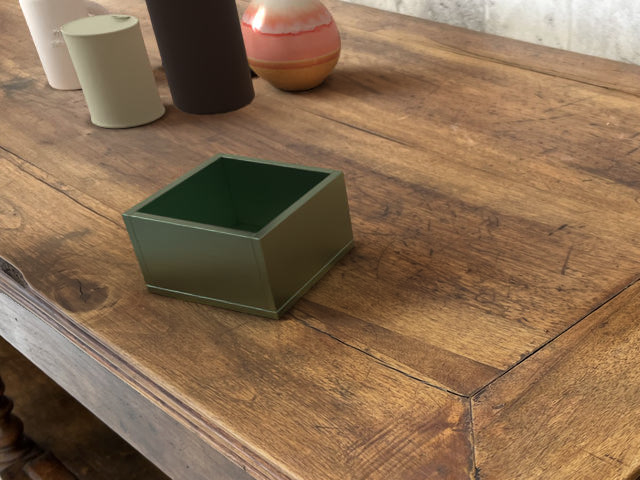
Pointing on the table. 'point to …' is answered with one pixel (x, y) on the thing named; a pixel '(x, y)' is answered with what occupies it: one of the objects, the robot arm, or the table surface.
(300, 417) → the table surface
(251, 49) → the vase
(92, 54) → the can
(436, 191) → the table surface
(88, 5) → the mug
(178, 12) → the vinegar
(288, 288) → the green open box
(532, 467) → the table surface
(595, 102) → the table surface
